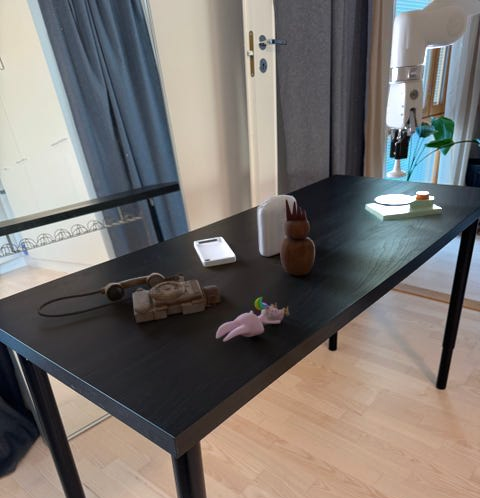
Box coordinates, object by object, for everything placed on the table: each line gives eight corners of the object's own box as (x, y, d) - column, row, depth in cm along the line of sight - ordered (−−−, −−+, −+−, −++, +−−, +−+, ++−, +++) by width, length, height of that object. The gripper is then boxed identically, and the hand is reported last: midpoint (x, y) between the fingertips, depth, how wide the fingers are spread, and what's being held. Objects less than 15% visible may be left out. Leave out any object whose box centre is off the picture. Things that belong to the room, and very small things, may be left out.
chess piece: (395, 178, 107) (399, 136, 102) (382, 175, 110) (385, 135, 106) (410, 175, 108) (415, 133, 103) (397, 172, 112) (401, 132, 107)
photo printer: (286, 241, 101) (285, 190, 95) (300, 245, 98) (299, 192, 92) (256, 254, 96) (252, 200, 90) (269, 258, 93) (266, 203, 87)
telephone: (43, 304, 82) (36, 285, 80) (208, 275, 88) (205, 256, 85) (31, 347, 69) (22, 326, 67) (224, 309, 75) (221, 289, 73)
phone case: (236, 261, 93) (222, 241, 106) (236, 256, 92) (221, 236, 105) (204, 267, 92) (193, 246, 104) (203, 262, 91) (193, 241, 104)
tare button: (424, 197, 115) (425, 190, 114) (430, 200, 112) (431, 193, 111) (413, 198, 115) (414, 192, 114) (419, 201, 112) (420, 194, 111)
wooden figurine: (276, 275, 85) (272, 202, 77) (288, 265, 89) (286, 194, 81) (307, 280, 81) (306, 204, 74) (318, 269, 85) (319, 195, 78)
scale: (420, 202, 120) (421, 191, 119) (443, 213, 110) (445, 201, 108) (365, 209, 119) (365, 198, 117) (382, 221, 109) (383, 209, 107)
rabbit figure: (267, 316, 73) (205, 343, 63) (268, 284, 71) (204, 306, 61) (296, 326, 69) (235, 357, 59) (299, 293, 67) (236, 318, 57)
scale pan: (403, 195, 117) (403, 192, 117) (420, 203, 109) (421, 201, 108) (368, 199, 117) (369, 197, 116) (384, 208, 108) (384, 206, 108)
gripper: (439, 73, 91) (428, 161, 100) (405, 74, 105) (398, 152, 114) (407, 76, 91) (398, 165, 100) (377, 77, 105) (371, 155, 114)
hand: (398, 157), depth 107 cm, fingers closed on chess piece
